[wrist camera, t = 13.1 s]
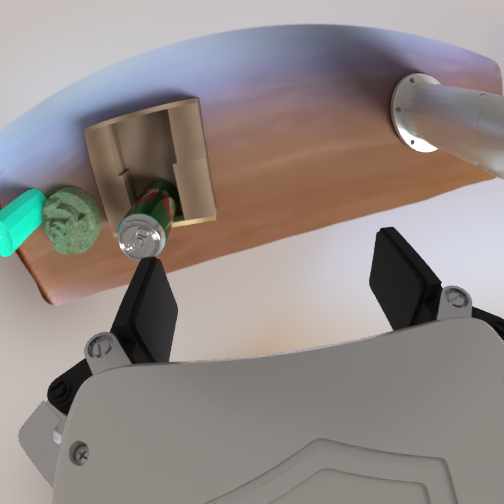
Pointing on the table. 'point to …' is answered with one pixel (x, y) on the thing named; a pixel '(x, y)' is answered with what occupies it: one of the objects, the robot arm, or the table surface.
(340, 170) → the table surface
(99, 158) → the open cardboard box
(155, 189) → the soda can
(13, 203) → the candle
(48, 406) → the robot arm
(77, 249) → the decorative artifact
